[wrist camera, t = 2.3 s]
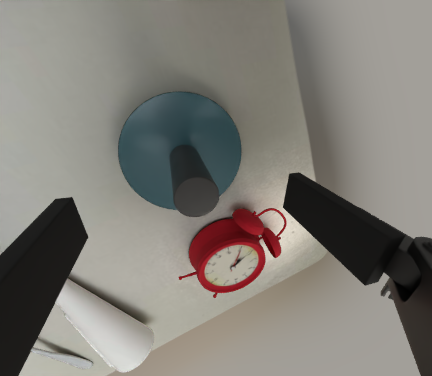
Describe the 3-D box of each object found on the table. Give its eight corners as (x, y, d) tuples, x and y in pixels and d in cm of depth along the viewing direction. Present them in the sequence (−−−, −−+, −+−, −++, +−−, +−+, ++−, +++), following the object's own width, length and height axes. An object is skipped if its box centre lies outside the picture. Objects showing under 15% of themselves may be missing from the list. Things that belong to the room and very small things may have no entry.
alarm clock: (167, 281, 23) (276, 221, 18) (173, 239, 28) (259, 183, 23) (220, 306, 28) (316, 265, 23) (217, 267, 33) (295, 226, 28)
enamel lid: (241, 91, 19) (299, 92, 11) (235, 198, 24) (270, 250, 16) (105, 91, 16) (49, 92, 8) (134, 210, 22) (117, 281, 14)
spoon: (-1, 301, 23) (-12, 316, 21) (102, 361, 33) (99, 373, 32) (-36, 316, 22) (-50, 331, 21) (79, 371, 33) (75, 384, 31)
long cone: (90, 231, 23) (157, 321, 31) (42, 247, 23) (120, 333, 31) (61, 267, 18) (150, 364, 26) (-1, 288, 18) (106, 378, 26)
